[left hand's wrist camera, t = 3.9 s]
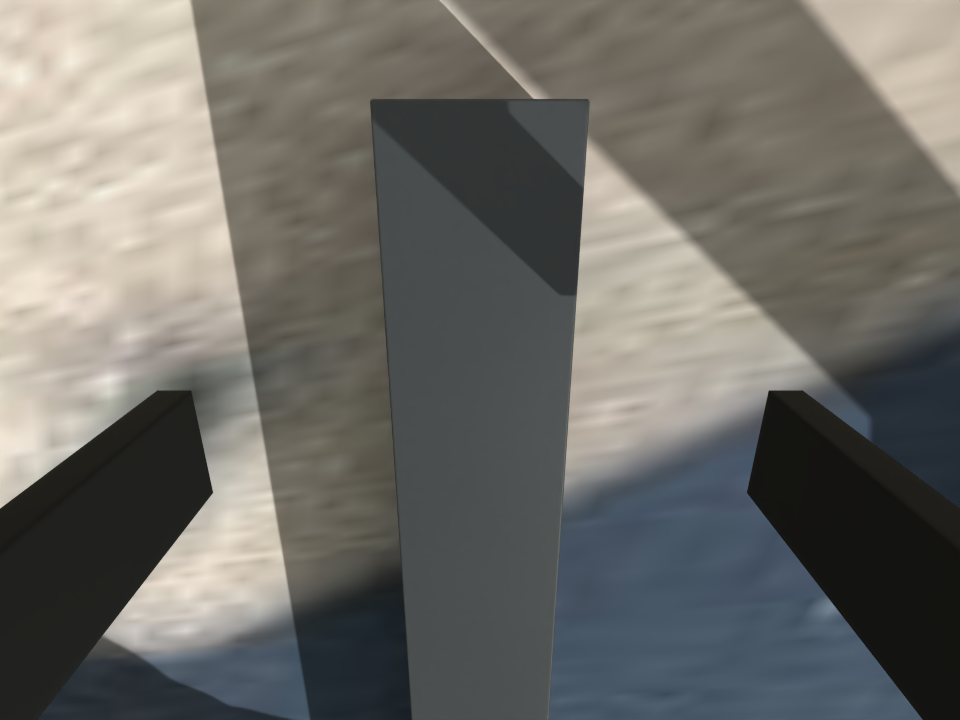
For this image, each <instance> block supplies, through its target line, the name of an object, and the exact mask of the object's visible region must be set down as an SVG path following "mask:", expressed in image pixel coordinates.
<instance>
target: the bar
mask: <svg viewBox="0 0 960 720" xmlns="http://www.w3.org/2000/svg"><path fill="white" fill-rule="evenodd" d="M589 103H590V102H589V100H588V99H372V100H371V101H370V106H371V121H372V136H373V151H374V166H375V181H376V196H377V210H378V225H379V240H380V255H381V270H382V285H383V300H384V315H385V330H386V345H387V360H388V375H389V389H390V404H391V419H392V434H393V449H394V464H395V479H396V494H397V509H398V524H399V539H400V554H401V569H402V583H403V598H404V613H405V628H406V643H407V658H408V673H409V688H410V703H411V718H412V720H548V716H549V701H550V686H551V671H552V656H553V641H554V626H555V611H556V596H557V581H558V566H559V551H560V536H561V521H562V507H563V492H564V477H565V462H566V447H567V432H568V417H569V402H570V387H571V372H572V357H573V342H574V327H575V312H576V297H577V282H578V267H579V252H580V237H581V222H582V207H583V193H584V178H585V163H586V148H587V133H588V118H589Z"/></svg>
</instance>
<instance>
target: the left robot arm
mask: <svg viewBox="0 0 960 720" xmlns="http://www.w3.org/2000/svg"><path fill="white" fill-rule="evenodd" d="M212 493H213V490H212V486H211V481H210V476H209V472H208V467H207V462H206V458H205V453H204V448H203V444H202V439H201V434H200V430H199V425H198V420H197V416H196V411H195V406H194V402H193V397H192V392H191V391H156V392H155V393H154V394H152V395H151V396H150V397H148V398H147V399H146V400H144V401H143V402H142V403H140V404H139V405H138V406H136V407H135V408H134V409H132V410H131V411H130V412H128V413H127V414H126V415H124V416H123V417H122V418H120V419H119V420H118V421H116V422H115V423H114V424H112V425H111V426H110V427H108V428H107V429H106V430H104V431H103V432H102V433H100V434H99V435H98V436H96V437H95V438H94V439H92V440H91V441H90V442H88V443H87V444H86V445H84V446H83V447H82V448H80V449H79V450H78V451H76V452H75V453H74V454H72V455H71V456H70V457H68V458H67V459H66V460H64V461H63V462H62V463H60V464H59V465H58V466H56V467H55V468H54V469H52V470H51V471H50V472H48V473H47V474H46V475H44V476H43V477H42V478H40V479H39V480H38V481H36V482H35V483H34V484H32V485H31V486H30V487H28V488H27V489H26V490H24V491H23V492H22V493H20V494H19V495H18V496H16V497H15V498H14V499H12V500H11V501H10V502H8V503H7V504H6V505H4V506H3V507H2V508H0V720H37V719H38V718H39V717H40V715H41V714H42V713H43V711H44V710H45V709H46V708H47V706H48V705H49V704H50V702H51V701H52V700H53V699H54V697H55V696H56V695H57V693H58V692H59V691H60V689H61V688H62V687H63V686H64V684H65V683H66V682H67V680H68V679H69V678H70V677H71V675H72V674H73V673H74V671H75V670H76V669H77V668H78V666H79V665H80V664H81V662H82V661H83V660H84V659H85V657H86V656H87V655H88V653H89V652H90V651H91V649H92V648H93V647H94V646H95V644H96V643H97V642H98V640H99V639H100V638H101V637H102V635H103V634H104V633H105V631H106V630H107V629H108V628H109V626H110V625H111V624H112V622H113V621H114V620H115V619H116V617H117V616H118V615H119V613H120V612H121V611H122V609H123V608H124V607H125V606H126V604H127V603H128V602H129V600H130V599H131V598H132V597H133V595H134V594H135V593H136V591H137V590H138V589H139V588H140V586H141V585H142V584H143V582H144V581H145V580H146V579H147V577H148V576H149V575H150V573H151V572H152V571H153V570H154V568H155V567H156V566H157V564H158V563H159V562H160V560H161V559H162V558H163V557H164V555H165V554H166V553H167V551H168V550H169V549H170V548H171V546H172V545H173V544H174V542H175V541H176V540H177V539H178V537H179V536H180V535H181V533H182V532H183V531H184V530H185V528H186V527H187V526H188V524H189V523H190V522H191V520H192V519H193V518H194V517H195V515H196V514H197V513H198V511H199V510H200V509H201V508H202V506H203V505H204V504H205V502H206V501H207V500H208V499H209V497H210V496H211V495H212ZM747 493H748V495H749V496H750V497H751V499H752V500H753V501H754V502H755V504H756V505H757V506H758V508H759V509H760V510H761V511H762V513H763V514H764V515H765V517H766V518H767V519H768V520H769V522H770V523H771V524H772V526H773V527H774V528H775V530H776V531H777V532H778V533H779V535H780V536H781V537H782V539H783V540H784V541H785V542H786V544H787V545H788V546H789V548H790V549H791V550H792V551H793V553H794V554H795V555H796V557H797V558H798V559H799V560H800V562H801V563H802V564H803V566H804V567H805V568H806V570H807V571H808V572H809V573H810V575H811V576H812V577H813V579H814V580H815V581H816V582H817V584H818V585H819V586H820V588H821V589H822V590H823V591H824V593H825V594H826V595H827V597H828V598H829V599H830V600H831V602H832V603H833V604H834V606H835V607H836V608H837V609H838V611H839V612H840V613H841V615H842V616H843V617H844V619H845V620H846V621H847V622H848V624H849V625H850V626H851V628H852V629H853V630H854V631H855V633H856V634H857V635H858V637H859V638H860V639H861V640H862V642H863V643H864V644H865V646H866V647H867V648H868V649H869V651H870V652H871V653H872V655H873V656H874V657H875V659H876V660H877V661H878V662H879V664H880V665H881V666H882V668H883V669H884V670H885V671H886V673H887V674H888V675H889V677H890V678H891V679H892V680H893V682H894V683H895V684H896V686H897V687H898V688H899V689H900V691H901V692H902V693H903V695H904V696H905V697H906V699H907V700H908V701H909V702H910V704H911V705H912V706H913V708H914V709H915V710H916V711H917V713H918V714H919V715H920V717H921V718H922V719H923V720H960V508H958V507H957V506H956V505H954V504H953V503H952V502H950V501H949V500H948V499H946V498H945V497H944V496H942V495H941V494H940V493H938V492H937V491H936V490H934V489H933V488H932V487H930V486H929V485H928V484H926V483H925V482H924V481H922V480H921V479H920V478H918V477H917V476H916V475H914V474H913V473H912V472H910V471H909V470H908V469H906V468H905V467H904V466H902V465H901V464H900V463H898V462H897V461H896V460H894V459H893V458H892V457H890V456H889V455H888V454H886V453H885V452H884V451H882V450H881V449H880V448H878V447H877V446H876V445H874V444H873V443H872V442H870V441H869V440H868V439H866V438H865V437H864V436H862V435H861V434H860V433H858V432H857V431H856V430H854V429H853V428H852V427H850V426H849V425H848V424H846V423H845V422H844V421H842V420H841V419H840V418H838V417H837V416H836V415H834V414H833V413H832V412H830V411H829V410H828V409H826V408H825V407H824V406H822V405H821V404H820V403H818V402H817V401H816V400H814V399H813V398H812V397H810V396H809V395H808V394H806V393H805V392H804V391H769V392H768V397H767V402H766V406H765V411H764V416H763V420H762V425H761V430H760V434H759V439H758V444H757V448H756V453H755V458H754V462H753V467H752V472H751V476H750V481H749V486H748V490H747Z"/></svg>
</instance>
